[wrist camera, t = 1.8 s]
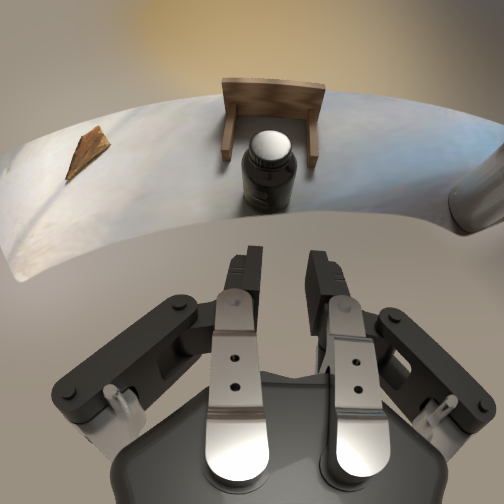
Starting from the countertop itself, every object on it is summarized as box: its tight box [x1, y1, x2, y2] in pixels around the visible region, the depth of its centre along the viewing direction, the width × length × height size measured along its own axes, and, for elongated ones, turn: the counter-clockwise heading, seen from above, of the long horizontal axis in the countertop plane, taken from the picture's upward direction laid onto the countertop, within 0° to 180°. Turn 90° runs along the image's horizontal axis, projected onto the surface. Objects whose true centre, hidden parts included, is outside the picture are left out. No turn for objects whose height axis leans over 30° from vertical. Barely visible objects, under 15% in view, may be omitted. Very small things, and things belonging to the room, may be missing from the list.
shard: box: [65, 126, 111, 180], centre depth 44 cm, size 11×8×2 cm
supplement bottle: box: [241, 130, 297, 214], centre depth 35 cm, size 7×7×12 cm
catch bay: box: [221, 78, 325, 167], centre depth 40 cm, size 16×11×8 cm
